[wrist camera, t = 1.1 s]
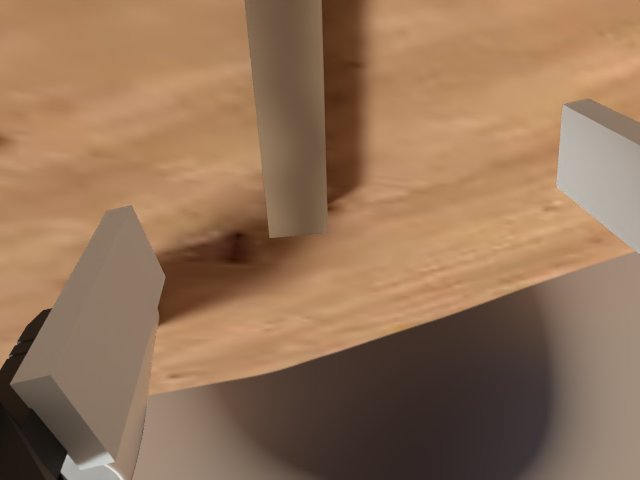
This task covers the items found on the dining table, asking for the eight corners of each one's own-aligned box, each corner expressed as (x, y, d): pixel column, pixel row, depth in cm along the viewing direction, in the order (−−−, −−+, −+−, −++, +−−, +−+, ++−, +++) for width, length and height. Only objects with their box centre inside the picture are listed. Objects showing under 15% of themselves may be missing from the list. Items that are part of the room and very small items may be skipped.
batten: (267, 210, 36) (269, 238, 32) (228, -175, 24) (224, -194, 21) (320, 205, 36) (327, 232, 33) (307, -177, 24) (316, -195, 21)
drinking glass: (138, 353, 41) (87, 535, 29) (64, 315, 38) (-29, 500, 26) (186, 305, 39) (154, 479, 27) (112, 262, 36) (36, 434, 24)
